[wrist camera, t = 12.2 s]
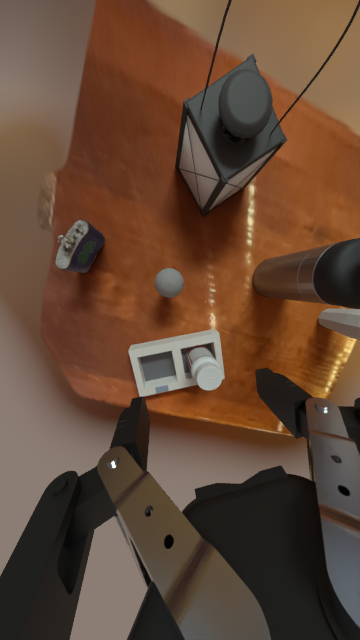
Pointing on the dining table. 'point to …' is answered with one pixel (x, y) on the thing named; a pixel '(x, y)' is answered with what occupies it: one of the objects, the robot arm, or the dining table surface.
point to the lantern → (229, 132)
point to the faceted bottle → (342, 321)
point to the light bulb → (169, 282)
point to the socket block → (170, 361)
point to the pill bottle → (204, 367)
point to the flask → (79, 247)
